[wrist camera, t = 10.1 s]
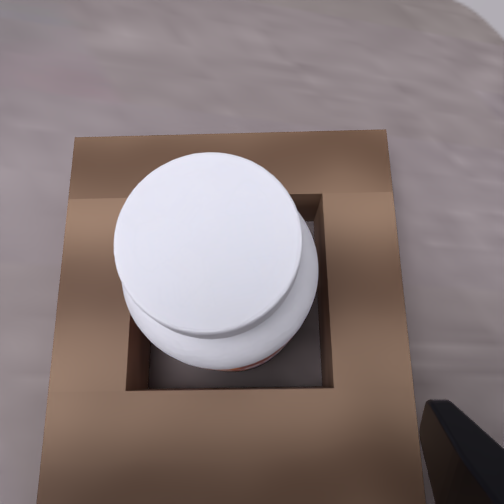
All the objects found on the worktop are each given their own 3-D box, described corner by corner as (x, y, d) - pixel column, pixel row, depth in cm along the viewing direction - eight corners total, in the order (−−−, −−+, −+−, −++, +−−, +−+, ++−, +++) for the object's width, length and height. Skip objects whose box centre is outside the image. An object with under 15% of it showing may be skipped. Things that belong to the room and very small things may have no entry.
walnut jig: (407, 590, 18) (440, 639, 15) (66, 591, 18) (22, 640, 15) (368, 165, 23) (386, 129, 20) (101, 171, 24) (74, 137, 20)
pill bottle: (181, 384, 21) (92, 395, 10) (161, 258, 22) (66, 150, 12) (312, 356, 21) (364, 337, 10) (283, 233, 22) (301, 104, 12)
